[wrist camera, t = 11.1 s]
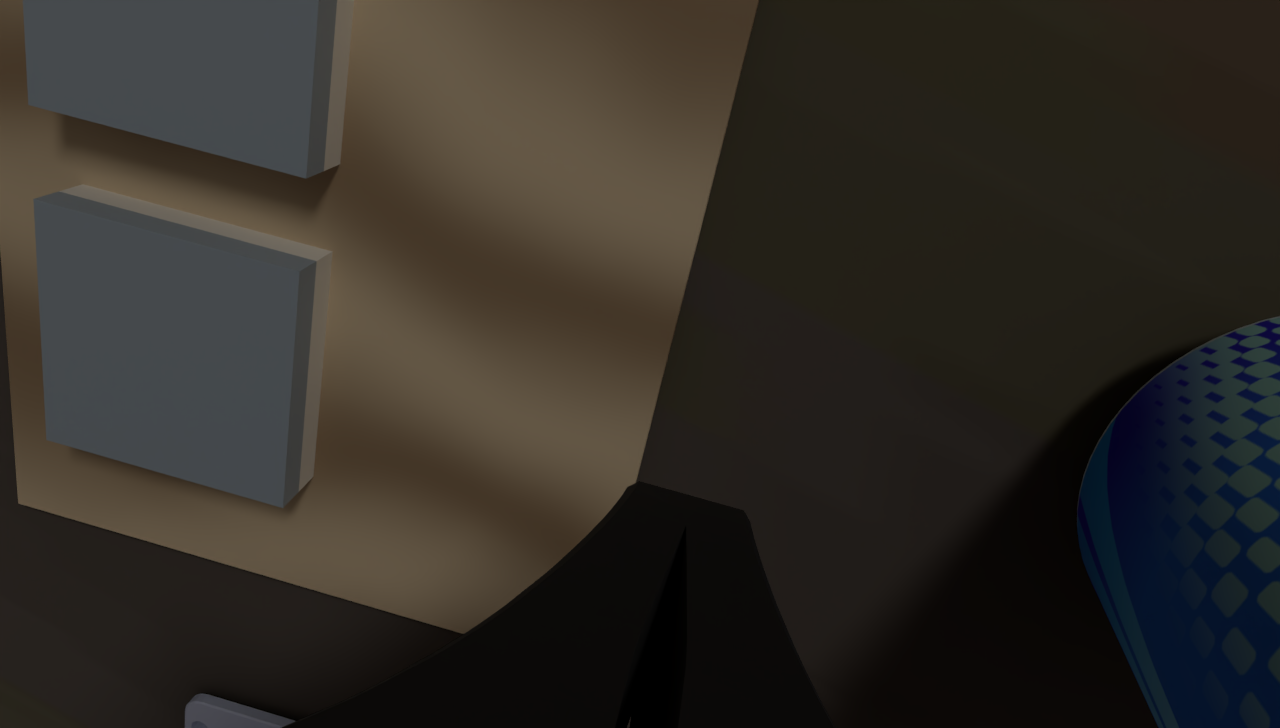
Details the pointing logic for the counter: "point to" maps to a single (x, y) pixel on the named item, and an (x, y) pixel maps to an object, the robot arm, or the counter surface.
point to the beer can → (1194, 532)
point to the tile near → (200, 73)
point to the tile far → (181, 342)
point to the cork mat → (427, 290)
